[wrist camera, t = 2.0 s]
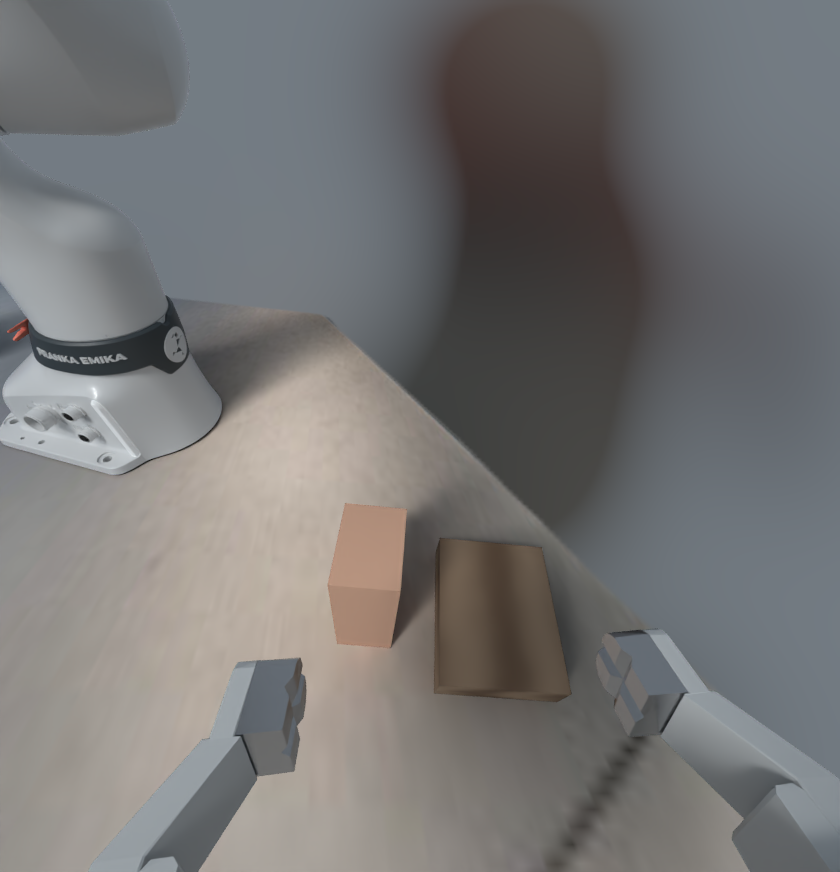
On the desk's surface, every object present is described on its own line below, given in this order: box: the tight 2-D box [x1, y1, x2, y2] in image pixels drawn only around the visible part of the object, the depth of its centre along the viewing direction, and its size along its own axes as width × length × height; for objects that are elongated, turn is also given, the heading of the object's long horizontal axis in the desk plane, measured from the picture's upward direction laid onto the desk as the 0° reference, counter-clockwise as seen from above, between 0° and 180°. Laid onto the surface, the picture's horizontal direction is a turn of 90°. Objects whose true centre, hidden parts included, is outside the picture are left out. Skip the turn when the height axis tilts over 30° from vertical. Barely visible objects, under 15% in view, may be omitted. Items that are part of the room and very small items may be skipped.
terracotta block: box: [328, 503, 407, 648], centre depth 30 cm, size 4×6×12 cm
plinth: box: [434, 538, 571, 702], centre depth 33 cm, size 10×12×3 cm
